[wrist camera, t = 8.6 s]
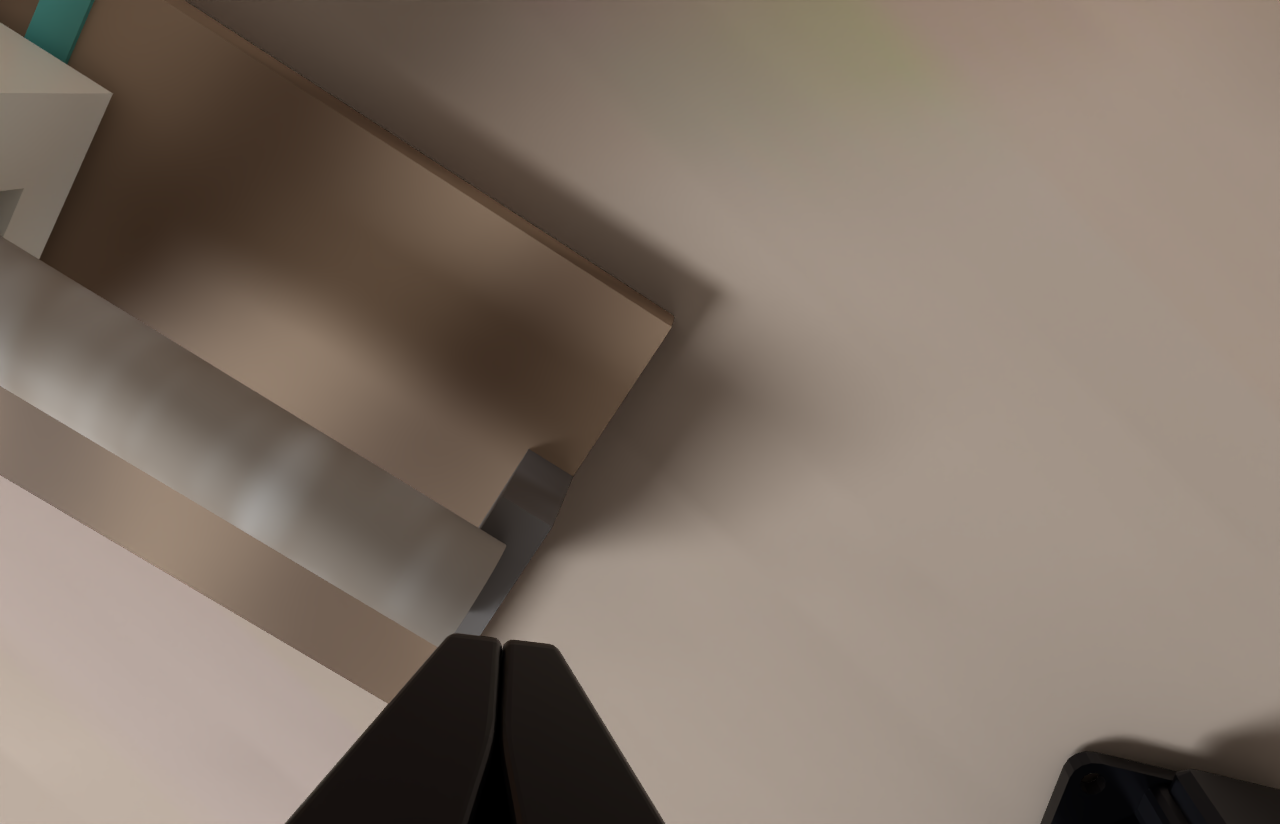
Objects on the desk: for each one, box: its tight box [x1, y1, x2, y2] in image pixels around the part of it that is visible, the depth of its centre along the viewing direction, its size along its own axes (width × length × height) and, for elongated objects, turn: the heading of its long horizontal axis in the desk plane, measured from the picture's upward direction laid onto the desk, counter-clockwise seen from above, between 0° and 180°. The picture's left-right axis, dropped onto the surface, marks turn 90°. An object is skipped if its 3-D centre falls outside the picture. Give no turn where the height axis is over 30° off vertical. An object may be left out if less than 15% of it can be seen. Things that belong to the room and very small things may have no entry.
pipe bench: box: [0, 0, 674, 704], centre depth 18 cm, size 17×10×5 cm, turn 58°
